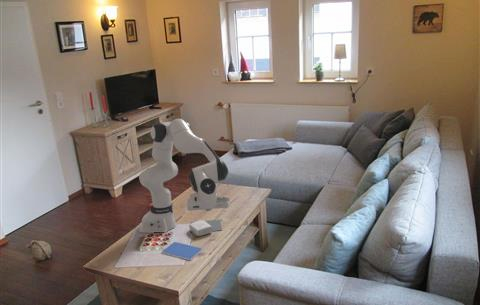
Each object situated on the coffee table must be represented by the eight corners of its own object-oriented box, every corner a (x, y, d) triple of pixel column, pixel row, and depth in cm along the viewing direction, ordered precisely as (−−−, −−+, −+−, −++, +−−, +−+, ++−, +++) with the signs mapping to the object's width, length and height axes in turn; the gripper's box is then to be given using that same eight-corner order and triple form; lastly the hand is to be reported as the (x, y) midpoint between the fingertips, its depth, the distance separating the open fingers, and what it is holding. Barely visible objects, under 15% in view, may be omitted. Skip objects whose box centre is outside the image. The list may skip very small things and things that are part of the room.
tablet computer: (160, 253, 212) (160, 251, 212) (174, 243, 223) (174, 240, 222) (190, 262, 203) (190, 259, 203) (203, 250, 214) (203, 248, 214)
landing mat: (191, 233, 231) (191, 232, 231) (190, 222, 245) (190, 222, 245) (221, 230, 234) (221, 229, 233) (220, 219, 247) (219, 219, 247)
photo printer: (213, 232, 231) (203, 224, 241) (212, 225, 230) (202, 218, 240) (197, 237, 226) (187, 229, 236) (196, 230, 224) (187, 222, 234)
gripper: (229, 191, 192) (227, 201, 204) (186, 194, 189) (187, 205, 201) (230, 203, 189) (229, 213, 201) (187, 207, 186) (188, 217, 199)
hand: (208, 209), depth 201 cm, fingers closed
